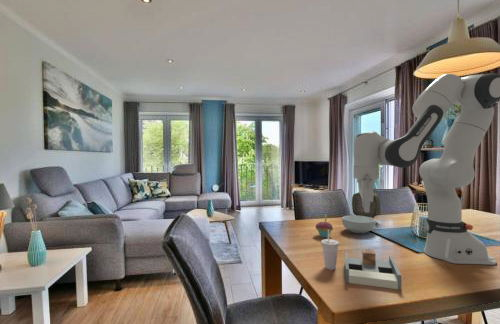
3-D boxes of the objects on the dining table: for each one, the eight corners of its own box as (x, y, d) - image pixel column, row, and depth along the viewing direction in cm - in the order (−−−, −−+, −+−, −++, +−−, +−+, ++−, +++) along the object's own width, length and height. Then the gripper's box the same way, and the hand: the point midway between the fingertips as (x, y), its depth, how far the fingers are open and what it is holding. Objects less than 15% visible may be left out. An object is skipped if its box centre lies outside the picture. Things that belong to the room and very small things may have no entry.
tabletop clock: (352, 221, 164) (351, 180, 164) (356, 218, 171) (356, 179, 170) (377, 224, 155) (376, 182, 154) (381, 221, 162) (380, 180, 161)
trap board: (392, 268, 96) (392, 256, 96) (401, 289, 81) (401, 275, 81) (345, 263, 101) (345, 251, 101) (345, 282, 86) (345, 268, 86)
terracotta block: (374, 260, 97) (374, 249, 97) (375, 265, 93) (375, 253, 93) (362, 259, 98) (362, 248, 98) (363, 263, 94) (363, 252, 94)
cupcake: (336, 237, 133) (336, 213, 133) (322, 239, 130) (322, 215, 130) (325, 232, 141) (325, 210, 141) (312, 234, 138) (311, 212, 138)
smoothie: (325, 262, 102) (325, 226, 102) (342, 266, 98) (341, 229, 98) (318, 268, 97) (317, 230, 97) (335, 272, 93) (335, 233, 93)
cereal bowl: (380, 236, 132) (380, 222, 132) (345, 235, 135) (345, 222, 135) (370, 227, 149) (370, 215, 149) (339, 226, 152) (339, 214, 152)
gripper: (378, 176, 91) (377, 216, 91) (372, 172, 110) (372, 205, 111) (358, 175, 93) (358, 214, 93) (355, 172, 112) (355, 204, 113)
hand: (365, 209), depth 102 cm, fingers open, 8 cm apart
